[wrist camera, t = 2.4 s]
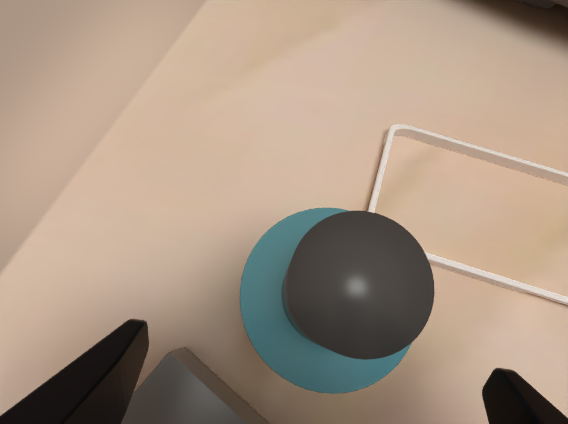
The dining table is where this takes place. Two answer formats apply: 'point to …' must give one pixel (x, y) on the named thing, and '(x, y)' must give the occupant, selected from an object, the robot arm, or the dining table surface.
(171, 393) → the socket
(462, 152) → the phone case
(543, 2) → the bluetooth speaker
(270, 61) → the dining table surface
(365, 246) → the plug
